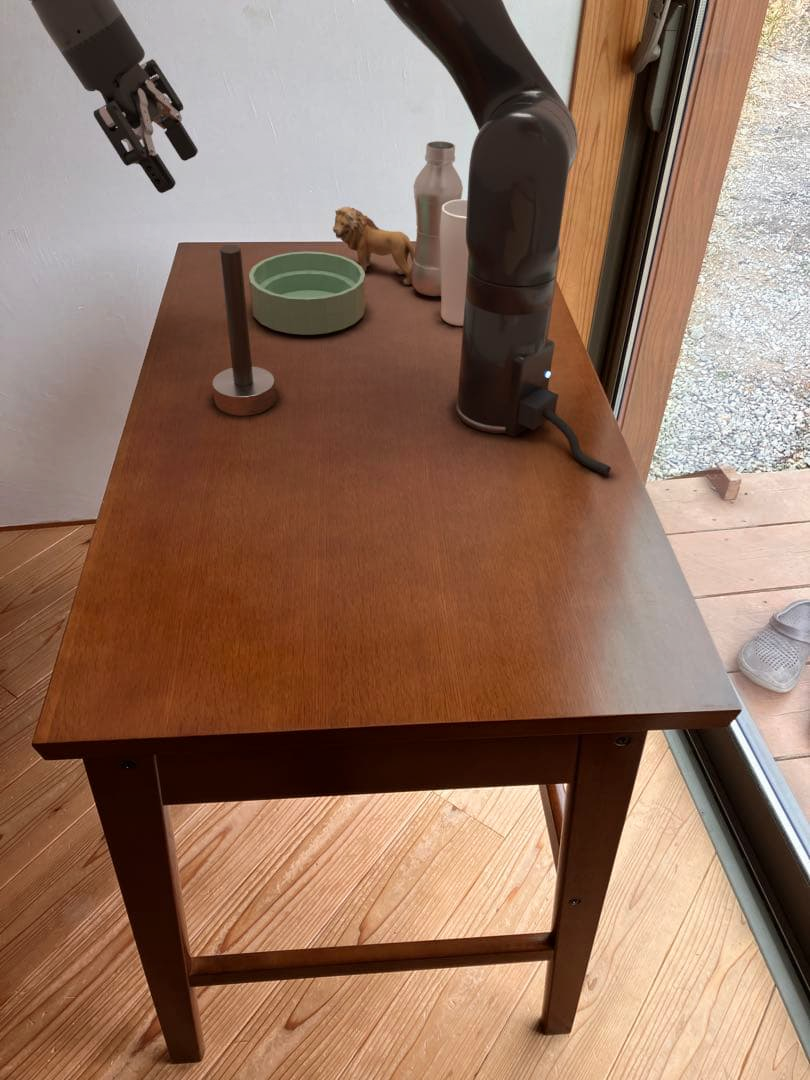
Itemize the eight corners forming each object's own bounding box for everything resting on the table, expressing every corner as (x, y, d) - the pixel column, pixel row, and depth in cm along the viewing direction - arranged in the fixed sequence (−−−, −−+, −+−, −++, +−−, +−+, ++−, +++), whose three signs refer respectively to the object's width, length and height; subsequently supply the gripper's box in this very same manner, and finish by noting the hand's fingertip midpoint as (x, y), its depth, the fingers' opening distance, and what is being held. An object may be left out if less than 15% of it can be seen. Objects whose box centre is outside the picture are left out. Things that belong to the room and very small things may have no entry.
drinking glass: (426, 322, 119) (431, 211, 110) (448, 303, 124) (455, 195, 114) (472, 334, 117) (481, 221, 107) (492, 314, 122) (503, 204, 112)
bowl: (387, 312, 121) (388, 273, 118) (307, 350, 113) (306, 310, 109) (309, 279, 129) (308, 242, 125) (229, 313, 120) (225, 274, 116)
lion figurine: (328, 272, 131) (326, 211, 125) (342, 259, 135) (341, 199, 129) (422, 289, 127) (424, 227, 122) (433, 275, 131) (436, 214, 126)
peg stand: (288, 399, 103) (278, 248, 92) (242, 422, 99) (225, 268, 88) (248, 378, 107) (233, 230, 95) (202, 400, 103) (181, 248, 91)
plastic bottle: (453, 304, 124) (463, 155, 111) (405, 298, 125) (410, 150, 112) (460, 285, 129) (470, 140, 116) (414, 280, 130) (420, 136, 117)
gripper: (90, 36, 85) (188, 188, 95) (139, -8, 95) (223, 134, 105) (34, 69, 88) (134, 213, 98) (87, 23, 98) (173, 159, 108)
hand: (180, 172), depth 102 cm, fingers open, 8 cm apart
